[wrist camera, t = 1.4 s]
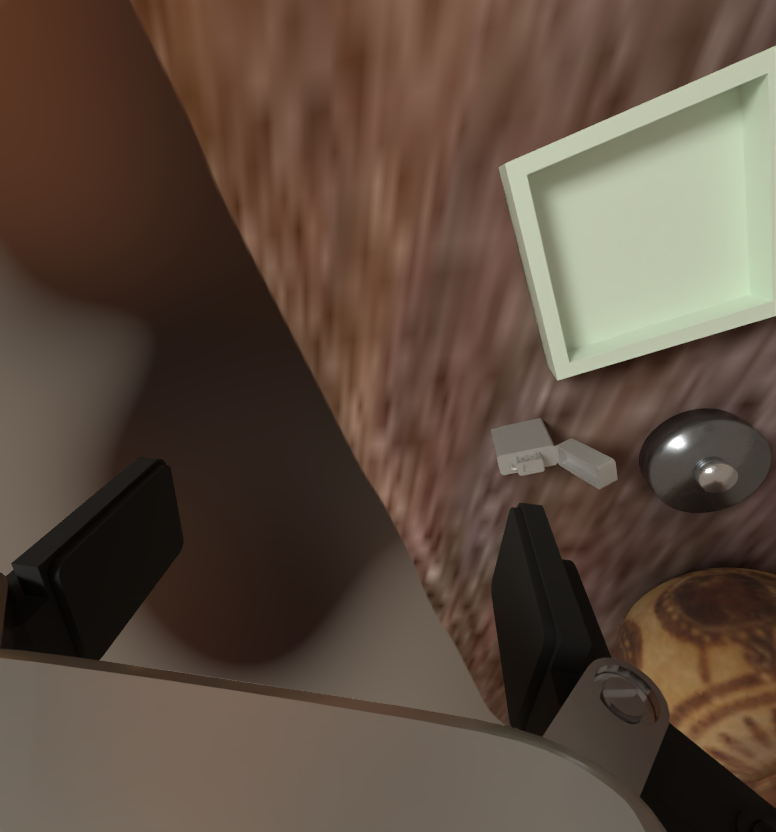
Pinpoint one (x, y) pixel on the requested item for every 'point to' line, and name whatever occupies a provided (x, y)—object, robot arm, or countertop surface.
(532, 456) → the lighter
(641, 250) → the tray
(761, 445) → the pot lid
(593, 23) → the countertop surface
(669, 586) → the clay pot
